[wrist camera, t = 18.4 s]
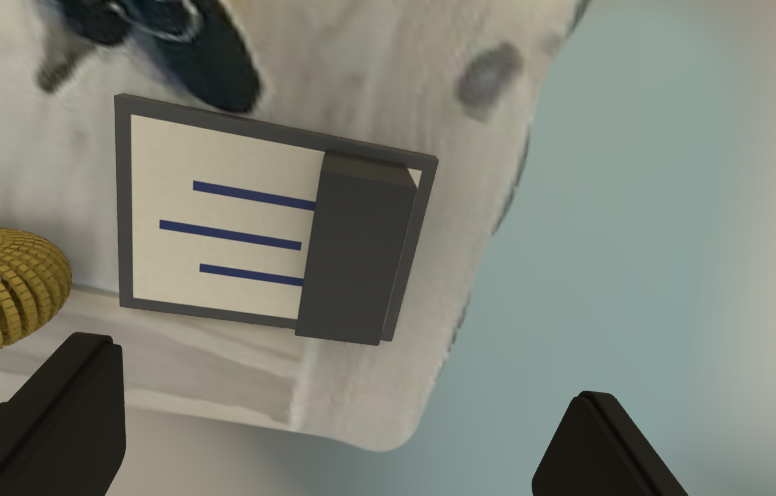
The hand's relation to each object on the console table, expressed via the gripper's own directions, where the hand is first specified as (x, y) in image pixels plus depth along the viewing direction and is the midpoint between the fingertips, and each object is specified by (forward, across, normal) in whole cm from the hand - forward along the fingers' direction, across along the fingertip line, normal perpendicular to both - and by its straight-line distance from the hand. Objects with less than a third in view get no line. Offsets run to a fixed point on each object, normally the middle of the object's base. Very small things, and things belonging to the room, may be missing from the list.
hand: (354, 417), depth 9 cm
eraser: (+14, 0, +2) cm, 14 cm away
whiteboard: (+15, +4, +3) cm, 16 cm away
